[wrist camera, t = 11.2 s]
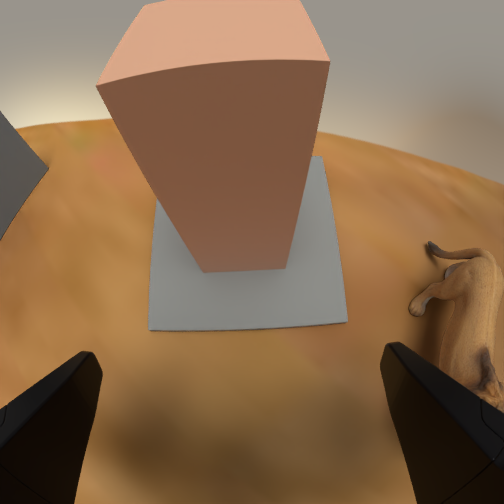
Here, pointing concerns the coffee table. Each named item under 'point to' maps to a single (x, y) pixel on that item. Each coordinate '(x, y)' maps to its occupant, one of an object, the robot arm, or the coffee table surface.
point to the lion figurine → (469, 320)
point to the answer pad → (252, 277)
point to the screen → (15, 172)
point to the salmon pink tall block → (222, 120)
